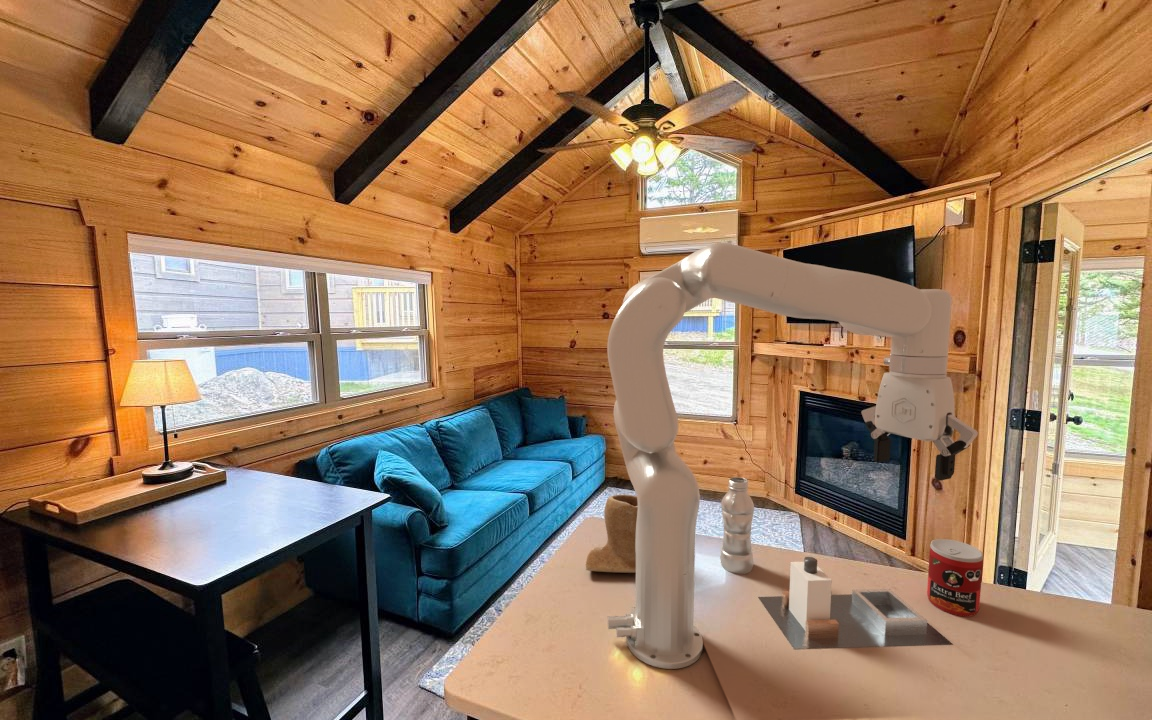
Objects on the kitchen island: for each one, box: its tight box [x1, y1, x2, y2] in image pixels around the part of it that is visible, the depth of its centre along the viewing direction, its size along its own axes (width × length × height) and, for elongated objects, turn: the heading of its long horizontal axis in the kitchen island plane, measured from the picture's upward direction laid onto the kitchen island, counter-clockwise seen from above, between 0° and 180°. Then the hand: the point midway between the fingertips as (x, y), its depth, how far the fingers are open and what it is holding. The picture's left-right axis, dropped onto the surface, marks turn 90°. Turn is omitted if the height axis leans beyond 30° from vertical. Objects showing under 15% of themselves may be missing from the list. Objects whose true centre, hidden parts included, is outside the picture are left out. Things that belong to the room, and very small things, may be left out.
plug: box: [789, 556, 833, 630], centre depth 82 cm, size 4×6×11 cm, turn 2°
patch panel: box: [757, 588, 954, 650], centre depth 83 cm, size 26×14×4 cm, turn 92°
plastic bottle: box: [719, 476, 755, 575], centre depth 99 cm, size 6×7×20 cm
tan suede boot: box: [585, 494, 638, 574], centre depth 103 cm, size 15×12×15 cm
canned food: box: [926, 538, 984, 617], centre depth 88 cm, size 8×8×11 cm
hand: (910, 469), depth 78 cm, fingers open, 9 cm apart
